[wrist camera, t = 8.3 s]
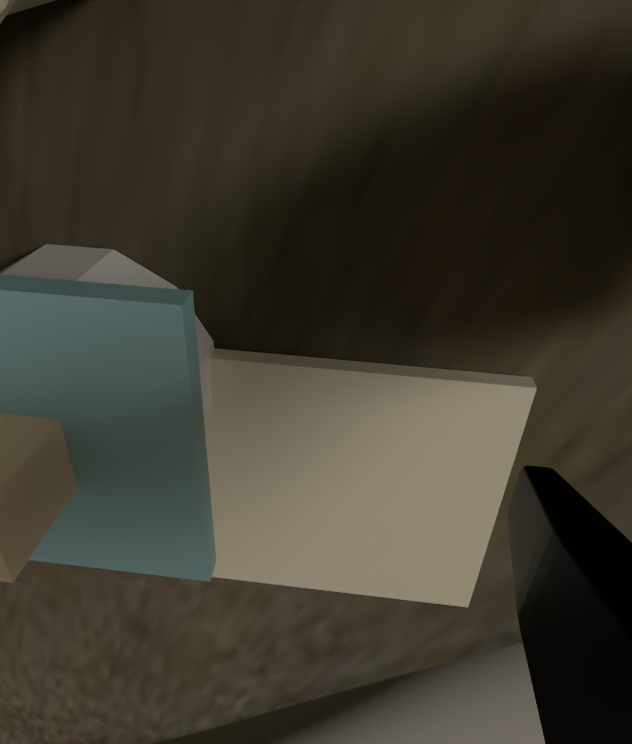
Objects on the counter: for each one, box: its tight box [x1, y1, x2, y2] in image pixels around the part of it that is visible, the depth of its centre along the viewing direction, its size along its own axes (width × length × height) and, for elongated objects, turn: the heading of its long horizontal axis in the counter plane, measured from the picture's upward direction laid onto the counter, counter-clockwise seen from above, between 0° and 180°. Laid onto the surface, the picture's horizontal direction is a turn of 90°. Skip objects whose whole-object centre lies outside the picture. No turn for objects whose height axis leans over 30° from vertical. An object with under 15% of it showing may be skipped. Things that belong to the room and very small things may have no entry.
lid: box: [0, 275, 216, 583], centre depth 17 cm, size 12×12×5 cm
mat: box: [204, 348, 537, 607], centre depth 26 cm, size 14×14×1 cm
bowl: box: [0, 244, 214, 423], centre depth 22 cm, size 10×10×5 cm
